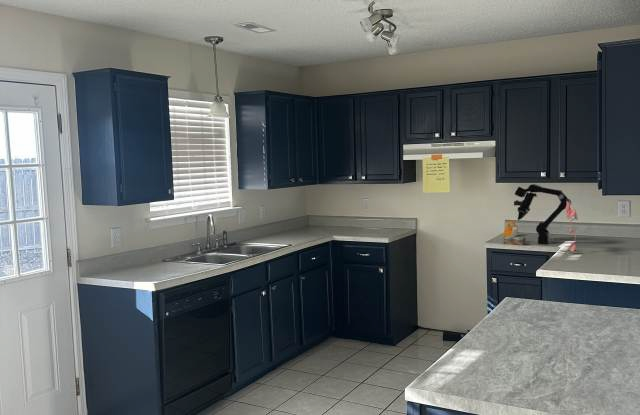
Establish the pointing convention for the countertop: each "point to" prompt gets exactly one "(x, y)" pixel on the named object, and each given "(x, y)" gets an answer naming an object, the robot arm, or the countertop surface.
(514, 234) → the wooden pepper mill
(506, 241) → the green slab with socket
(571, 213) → the figurine
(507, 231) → the bracket
